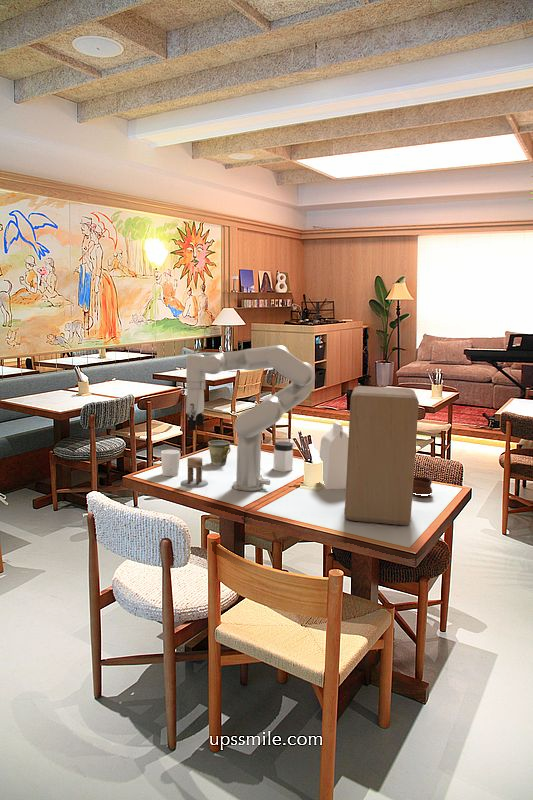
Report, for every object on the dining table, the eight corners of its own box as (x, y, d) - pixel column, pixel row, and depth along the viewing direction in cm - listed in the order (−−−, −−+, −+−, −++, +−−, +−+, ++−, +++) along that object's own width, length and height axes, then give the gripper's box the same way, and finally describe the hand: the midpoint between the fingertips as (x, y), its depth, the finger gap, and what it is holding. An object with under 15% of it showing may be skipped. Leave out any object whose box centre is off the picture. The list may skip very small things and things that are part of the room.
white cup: (181, 472, 268) (181, 450, 267) (177, 477, 261) (177, 454, 259) (163, 471, 269) (163, 449, 268) (158, 476, 261) (159, 453, 260)
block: (410, 528, 209) (419, 396, 202) (343, 522, 213) (350, 393, 206) (407, 507, 231) (415, 388, 224) (347, 502, 235) (353, 384, 228)
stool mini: (189, 480, 256) (190, 456, 254) (203, 481, 255) (204, 457, 253) (185, 484, 250) (185, 460, 249) (199, 485, 249) (199, 461, 247)
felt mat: (211, 481, 257) (211, 480, 257) (203, 488, 246) (203, 487, 246) (185, 478, 259) (185, 477, 259) (177, 486, 248) (177, 485, 248)
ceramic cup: (203, 462, 286) (203, 441, 284) (220, 459, 292) (220, 439, 291) (221, 468, 276) (221, 447, 275) (238, 465, 283) (238, 444, 281)
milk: (317, 481, 262) (319, 420, 258) (342, 479, 265) (345, 420, 261) (326, 489, 250) (329, 426, 246) (353, 488, 253) (356, 425, 249)
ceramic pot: (433, 505, 234) (434, 487, 234) (390, 496, 245) (391, 479, 244) (450, 495, 249) (451, 478, 248) (409, 487, 259) (410, 471, 258)
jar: (272, 466, 282) (272, 441, 280) (289, 466, 284) (290, 441, 282) (275, 472, 274) (276, 445, 272) (293, 471, 275) (294, 445, 273)
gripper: (193, 382, 255) (193, 423, 258) (179, 387, 239) (179, 431, 241) (211, 383, 254) (210, 424, 257) (198, 388, 237) (198, 432, 240)
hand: (195, 427), depth 249 cm, fingers open, 9 cm apart
